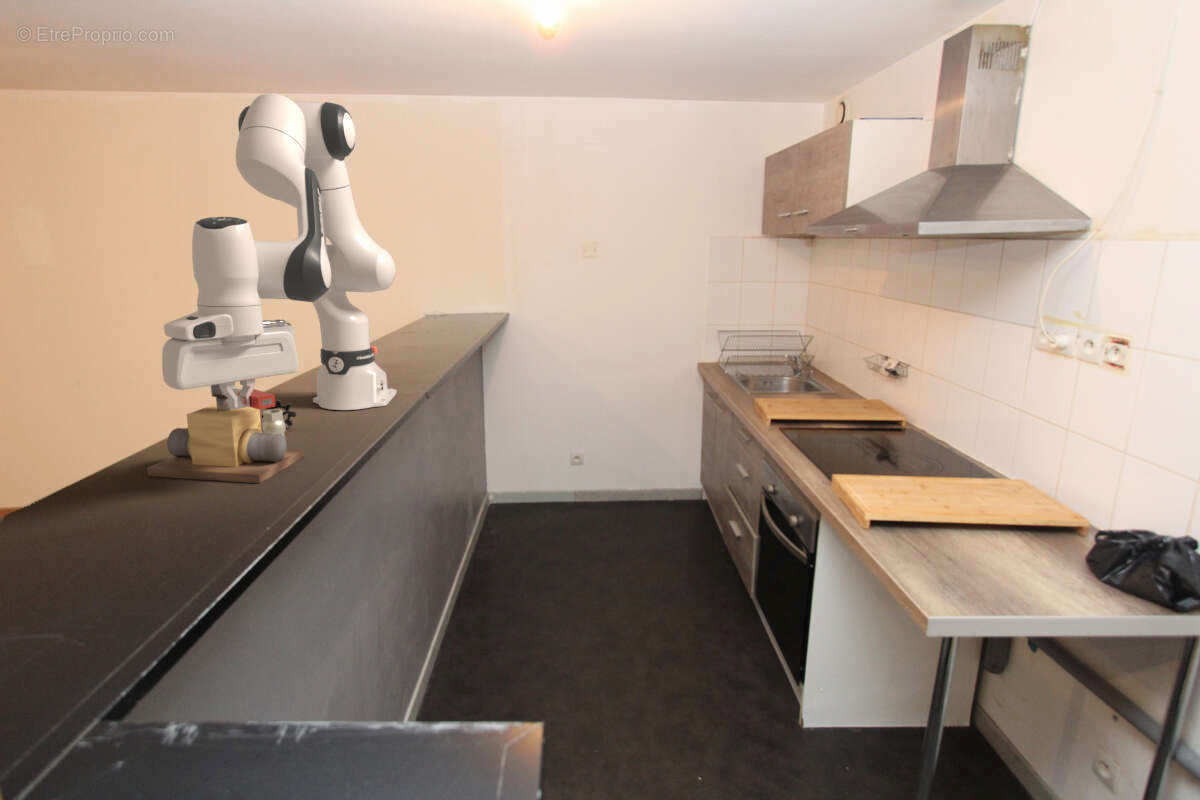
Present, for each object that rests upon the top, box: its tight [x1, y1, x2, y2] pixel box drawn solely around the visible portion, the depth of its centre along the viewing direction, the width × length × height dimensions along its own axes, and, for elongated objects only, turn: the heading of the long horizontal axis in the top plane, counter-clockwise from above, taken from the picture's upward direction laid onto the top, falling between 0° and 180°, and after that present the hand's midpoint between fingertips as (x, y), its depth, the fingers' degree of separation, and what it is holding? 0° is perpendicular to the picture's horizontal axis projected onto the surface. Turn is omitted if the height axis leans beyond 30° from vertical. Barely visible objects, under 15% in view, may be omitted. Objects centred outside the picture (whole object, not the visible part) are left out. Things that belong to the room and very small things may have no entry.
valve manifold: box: [146, 397, 305, 484], centre depth 114 cm, size 14×20×13 cm
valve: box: [261, 399, 297, 438], centre depth 133 cm, size 7×7×12 cm
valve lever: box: [210, 384, 276, 410], centre depth 109 cm, size 16×3×2 cm, turn 57°
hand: (239, 407), depth 104 cm, fingers closed
